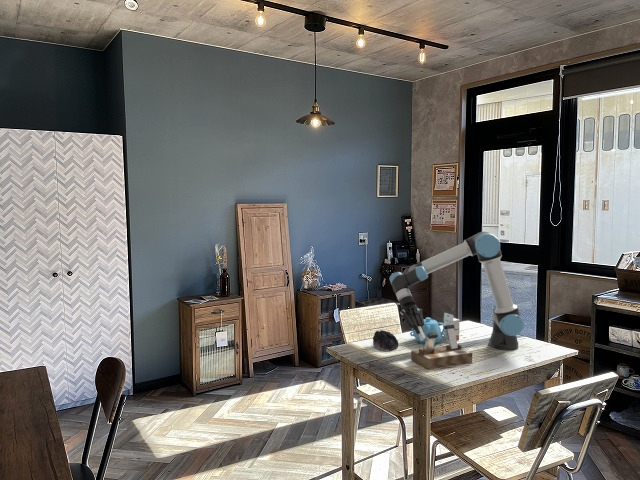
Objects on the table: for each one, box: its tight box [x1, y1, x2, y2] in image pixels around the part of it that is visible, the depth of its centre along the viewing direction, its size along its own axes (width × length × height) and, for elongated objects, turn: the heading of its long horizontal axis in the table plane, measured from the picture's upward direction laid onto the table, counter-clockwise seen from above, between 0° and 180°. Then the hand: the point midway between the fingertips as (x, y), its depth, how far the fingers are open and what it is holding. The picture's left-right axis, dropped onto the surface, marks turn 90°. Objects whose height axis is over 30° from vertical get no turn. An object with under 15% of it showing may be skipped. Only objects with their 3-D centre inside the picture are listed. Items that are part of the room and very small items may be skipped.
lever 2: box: [444, 325, 458, 349], centre depth 244 cm, size 5×2×12 cm, turn 112°
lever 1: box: [422, 332, 438, 354], centre depth 233 cm, size 5×2×12 cm, turn 112°
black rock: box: [372, 329, 399, 352], centre depth 261 cm, size 13×14×10 cm
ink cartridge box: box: [442, 312, 461, 341], centre depth 277 cm, size 9×5×15 cm, turn 25°
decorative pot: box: [409, 316, 446, 345], centre depth 272 cm, size 16×16×14 cm
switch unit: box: [410, 343, 473, 371], centre depth 238 cm, size 26×14×7 cm, turn 112°
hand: (423, 339), depth 238 cm, fingers closed
